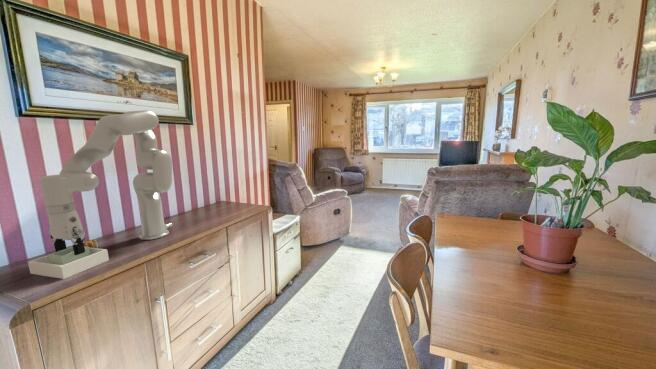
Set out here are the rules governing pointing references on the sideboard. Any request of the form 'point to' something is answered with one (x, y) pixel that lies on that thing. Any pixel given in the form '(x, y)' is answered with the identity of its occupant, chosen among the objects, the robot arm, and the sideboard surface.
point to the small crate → (66, 256)
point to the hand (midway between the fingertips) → (70, 252)
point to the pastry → (91, 244)
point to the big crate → (67, 270)
